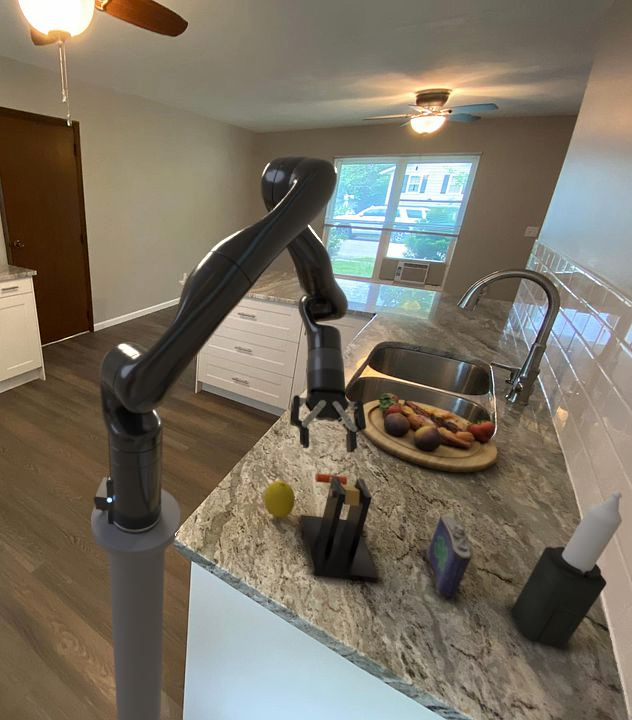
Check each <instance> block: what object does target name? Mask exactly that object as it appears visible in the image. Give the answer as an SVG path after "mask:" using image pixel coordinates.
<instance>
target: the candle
mask: <svg viewBox="0 0 632 720" xmlns="http://www.w3.org/2000/svg"><path fill="white" fill-rule="evenodd" d="M622 497H623V495H622V493H621V492H619V491H612V492H611V495H610V496H608V497H607V498H606V499H604V500H603V501H601V502H599V503H595V504H592V505H590V506H588V508H587V509H586V511H585V513H584V515H583V517H582V518H581V520H580V521H579V524H578V525H577V527H576V529H575V530H574V532H573V534H572V536H570V537H571V538H570V539H569V542H567V545H566V546H565V547H564V546H557V547H552V546H547V547H545V548H544V549H543V551H542V553H541V555H540V556H539V559H538V560H537V562H536V564H535V566H534V568H533V570H532V571H531V573H530V574H529V576H528V579H527V580H526V581H525V584H524V586H523V588H522V590H521V591H520V593H519V594H518V597H517V598H516V600H515V602H514V604H513V605H512V608H511V614H512V615H513V618H514V620H515V622H516V624H517V626H518V628H519V630H520V632H521V633H522V634H523V636H524V637H525V638H527V639H529V640H530V641H533V642H539V643H543V644H545V645H549V646H553V647H555V648H557V649H565V647H566V646H567V645H568V643H569V642H570V640H571V638H572V637H573V635H574V634H575V632H576V631H577V629H578V628H579V626H580V625H581V623H582V622H583V620H584V619H585V617H586V616H587V615H588V613H589V611H590V609H592V606H593V605H594V604H595V602H596V601H597V600H598V598H599V597H600V595H601V593H602V592H603V590H604V589H605V587H606V586H607V580H606V579H605V577H604V576H603V575H602V570H601V567H599V565H598V564H597V562H598V560H599V559H600V557H601V556H602V554H603V553H604V551H605V549H606V548H607V546H608V545H609V543H610V542H611V540H612V539H613V537H614V535H615V534H616V532H617V531H618V529H619V527H620V526H621V524H622V522H623V519H622V516H621V514H620V510H619V508H620V499H622Z"/></svg>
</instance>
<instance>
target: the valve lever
mask: <svg viewBox="0 0 632 720" xmlns="http://www.w3.org/2000/svg"><path fill="white" fill-rule="evenodd" d="M332 476H336V477H338V478H339V480H340V483H341V485H342V488H343V490H344V493H345V499H344V503H343V505H347V506H350V505H355V506H359V493H360V491H359V490H358V489H356V488H355V485H347V483H348V479H347V476H345V475H336V474H325V473H315V475H314V479H315V482H316V483H323V484H329V485H330V484H331V480H332Z"/></svg>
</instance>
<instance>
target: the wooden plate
mask: <svg viewBox="0 0 632 720" xmlns="http://www.w3.org/2000/svg"><path fill="white" fill-rule="evenodd" d="M363 407H364V414H365V421H366V429H364V430H362V431H361V432H360V433H362V434H363V435H364V436H365V437H366V438H367V440H369V441H370V442H371V443H373V444H374V445H375V446H377V447H379V448H380V449H382V450H384V452H387V453H388V454H390V455H393V456H394V457H397V458H399V459H401V460H403V461H407V462H409V463H412V464H415V465H419V466H422V467H425V468H429V469H432V470H433V469H434V470H438V471H443V472H450V473H472V472H473V473H474V472H480V471H482V470H486V469H488V468H490V467H492V466H493V465H494V464H495V463H496V462H497V460H498V456H499V450H498V448H497V445H496V443H495V442H494V440H493V439H492V437H493V436H494V433H495V430H496V427H495V424H494V423H493V422H492V421H489V420H482V419H480V420H478V419H477V421H473V420H471V422H470V421H469V420H467V419H465V418H463V417H462V416H459V415H457V414H455V413H454V412H451V411H449V410H444V409H443V408H439V407H436V406H433V405H429V404H425V403H421V402H417V401H411V400H408V399H399V397H398V395H397V394H394V393H390V392H388V393H386V392H384V393H381V396H380V397H379V398H378V399H376V400H373V401H369V402H367V403H363Z"/></svg>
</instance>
